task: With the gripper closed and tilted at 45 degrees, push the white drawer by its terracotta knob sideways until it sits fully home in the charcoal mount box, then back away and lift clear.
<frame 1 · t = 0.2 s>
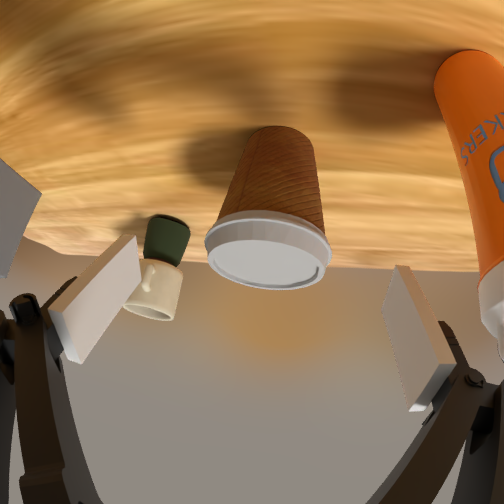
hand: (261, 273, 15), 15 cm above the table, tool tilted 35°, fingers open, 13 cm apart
shaker bottle: (471, 85, 17), on the table
disposable coffee cup: (280, 149, 28), on the table
character mug: (170, 224, 44), on the table
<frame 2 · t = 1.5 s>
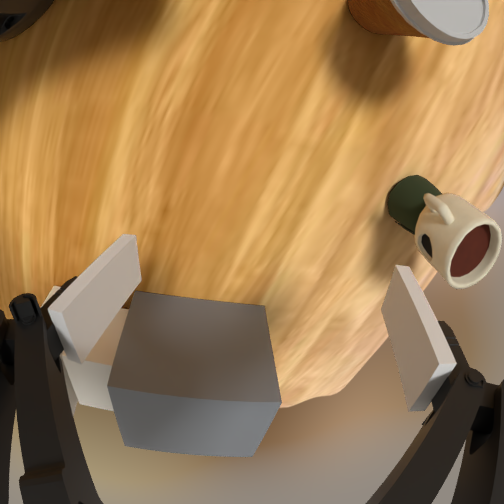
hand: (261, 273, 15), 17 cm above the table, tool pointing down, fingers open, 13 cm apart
white drawer: (100, 366, 33), point 7 cm above the table, slide at 7.0 cm
mount: (195, 338, 41), on the table
disposable coffee cup: (375, 7, 22), on the table
character mug: (407, 197, 33), on the table
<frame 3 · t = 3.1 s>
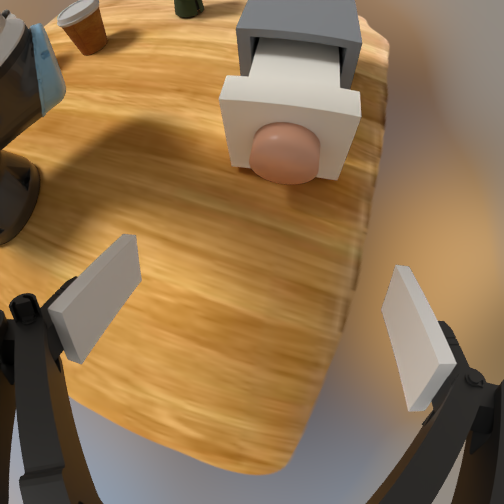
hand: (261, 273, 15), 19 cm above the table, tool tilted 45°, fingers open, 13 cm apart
white drawer: (293, 95, 34), point 7 cm above the table, slide at 7.0 cm
mount: (297, 77, 43), on the table
disposable coffee cup: (95, 47, 51), on the table
character mug: (190, 13, 52), on the table
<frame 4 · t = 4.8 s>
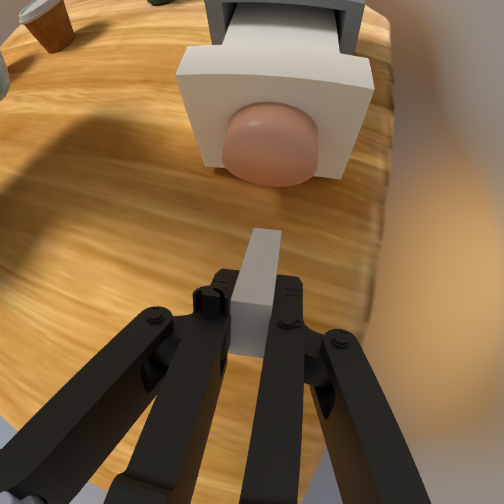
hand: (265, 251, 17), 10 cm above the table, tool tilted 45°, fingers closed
white drawer: (280, 72, 25), point 7 cm above the table, slide at 7.0 cm
mount: (285, 58, 35), on the table
disposable coffee cup: (61, 44, 42), on the table
character mug: (164, 0, 44), on the table
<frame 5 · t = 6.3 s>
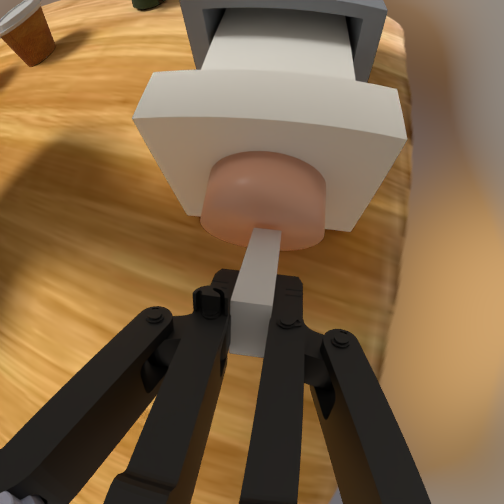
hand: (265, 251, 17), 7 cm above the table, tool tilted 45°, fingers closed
white drawer: (278, 97, 21), point 7 cm above the table, slide at 6.9 cm, touching gripper
mount: (285, 72, 31), on the table
disposable coffee cup: (42, 55, 38), on the table
character mug: (151, 4, 39), on the table
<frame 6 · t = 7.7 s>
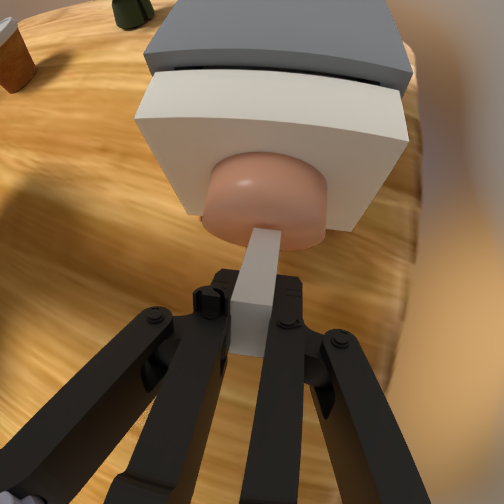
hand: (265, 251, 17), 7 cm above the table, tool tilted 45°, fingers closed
white drawer: (279, 97, 21), point 7 cm above the table, slide at -0.1 cm, touching gripper
mount: (281, 115, 29), on the table
disposable coffee cup: (22, 80, 36), on the table
character mug: (137, 22, 37), on the table
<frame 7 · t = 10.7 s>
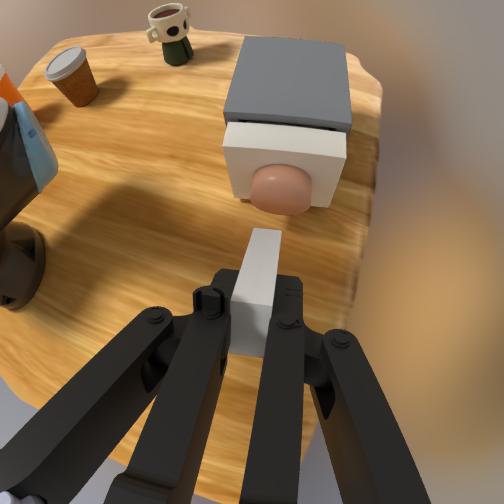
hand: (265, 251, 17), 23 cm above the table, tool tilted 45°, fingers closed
white drawer: (287, 132, 39), point 7 cm above the table, slide at 0.0 cm
shaker bottle: (24, 123, 55), on the table
mount: (288, 138, 47), on the table
disposable coffee cup: (86, 97, 55), on the table
character mug: (179, 59, 56), on the table
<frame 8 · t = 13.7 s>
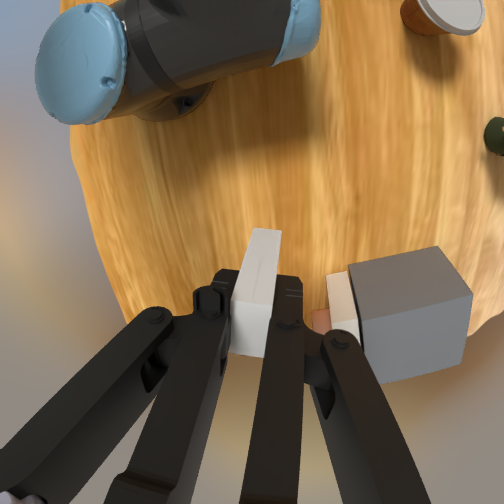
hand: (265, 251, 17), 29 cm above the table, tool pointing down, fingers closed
white drawer: (380, 320, 46), point 7 cm above the table, slide at 0.0 cm
mount: (396, 289, 51), on the table
disposable coffee cup: (419, 16, 30), on the table
character mug: (496, 135, 36), on the table
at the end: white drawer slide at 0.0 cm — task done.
